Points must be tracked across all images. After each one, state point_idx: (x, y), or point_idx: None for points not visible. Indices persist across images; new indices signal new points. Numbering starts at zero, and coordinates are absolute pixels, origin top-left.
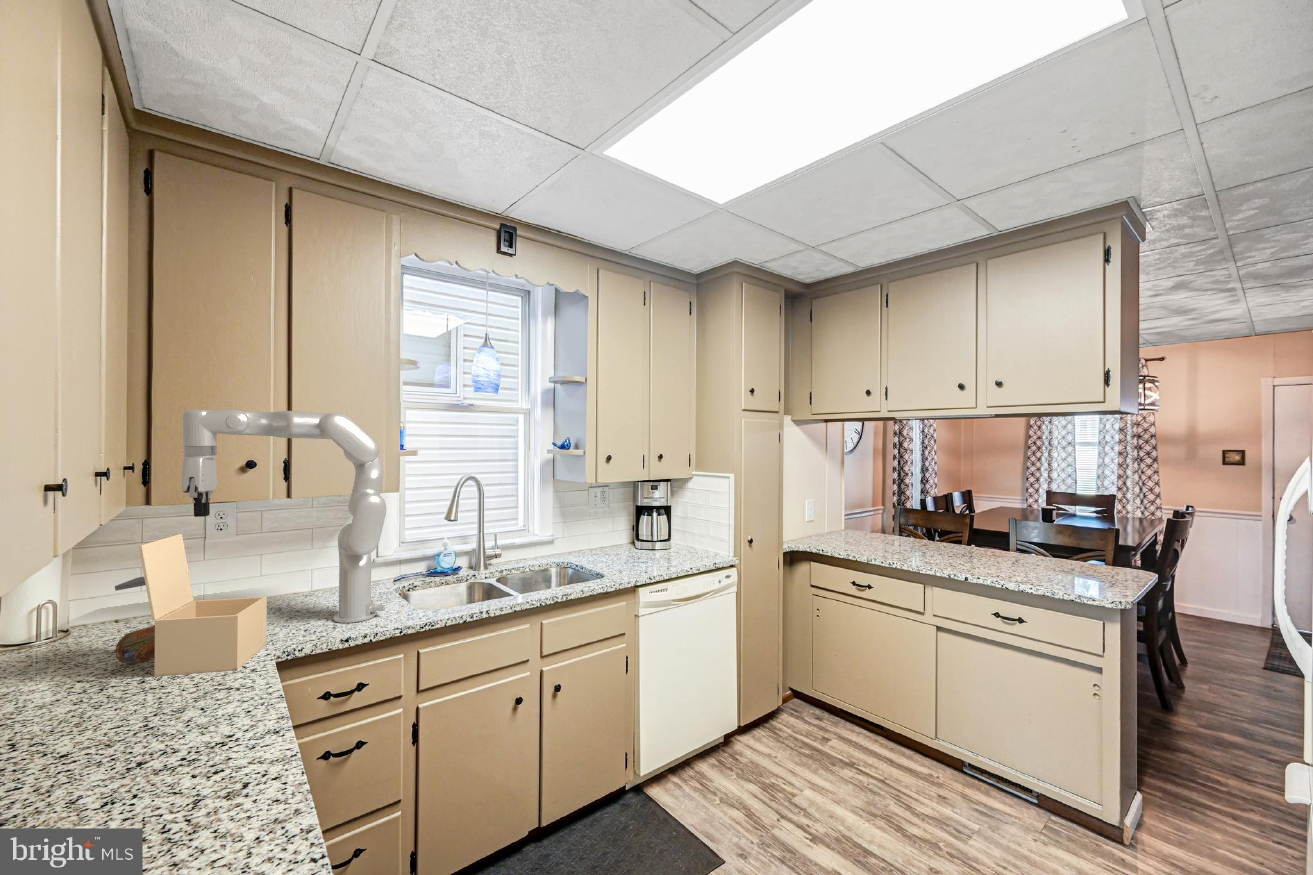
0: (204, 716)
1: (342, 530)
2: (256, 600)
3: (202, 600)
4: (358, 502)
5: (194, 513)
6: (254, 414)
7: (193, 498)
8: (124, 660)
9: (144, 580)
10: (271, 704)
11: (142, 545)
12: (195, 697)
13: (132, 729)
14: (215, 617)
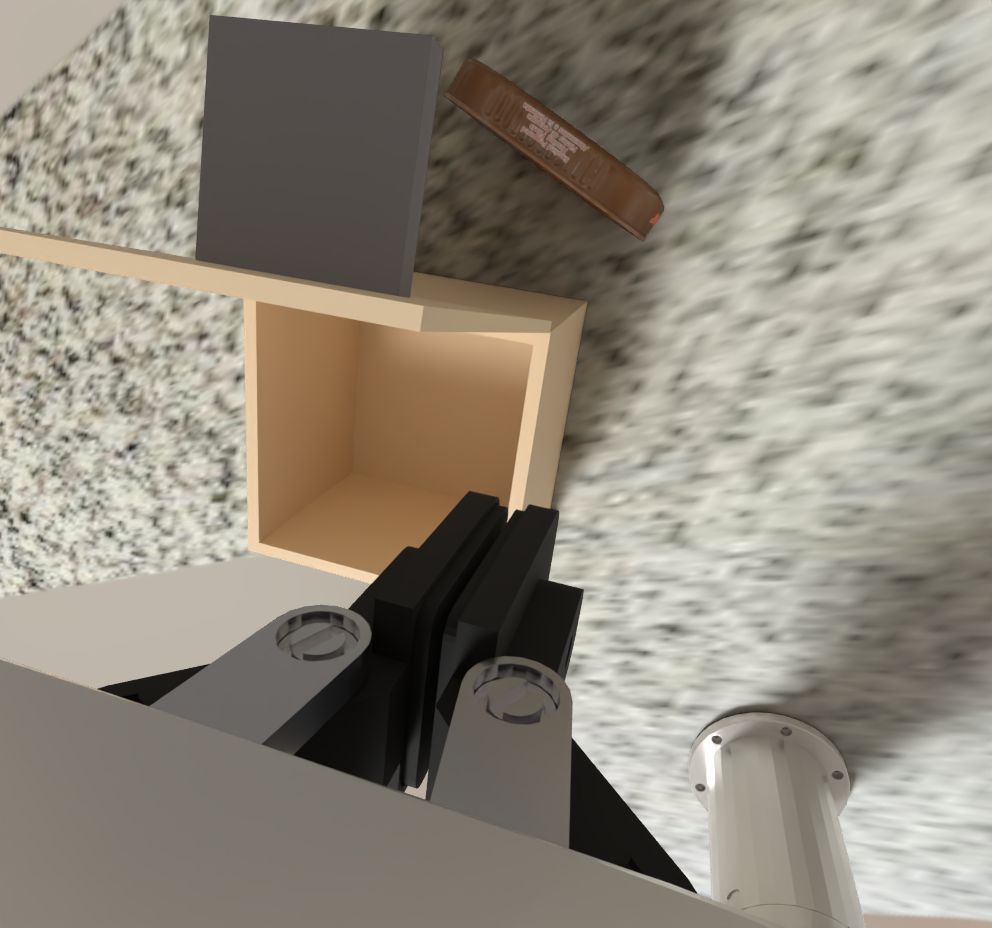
0: (98, 459)
1: None
2: None
3: (539, 372)
4: None
5: (451, 514)
6: None
7: (133, 691)
8: (465, 111)
9: (211, 188)
10: (133, 568)
11: None
12: (190, 417)
13: (58, 338)
14: (248, 483)
